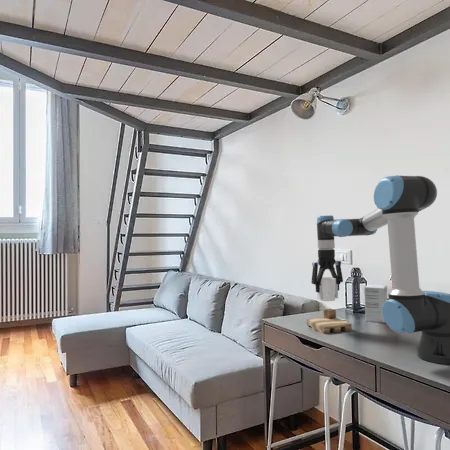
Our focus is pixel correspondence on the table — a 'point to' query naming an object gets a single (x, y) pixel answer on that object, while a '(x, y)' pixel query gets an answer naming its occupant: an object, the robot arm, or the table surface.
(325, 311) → the cargo block
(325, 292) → the white cup
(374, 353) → the table surface
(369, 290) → the supplement box
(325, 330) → the pallet dock
